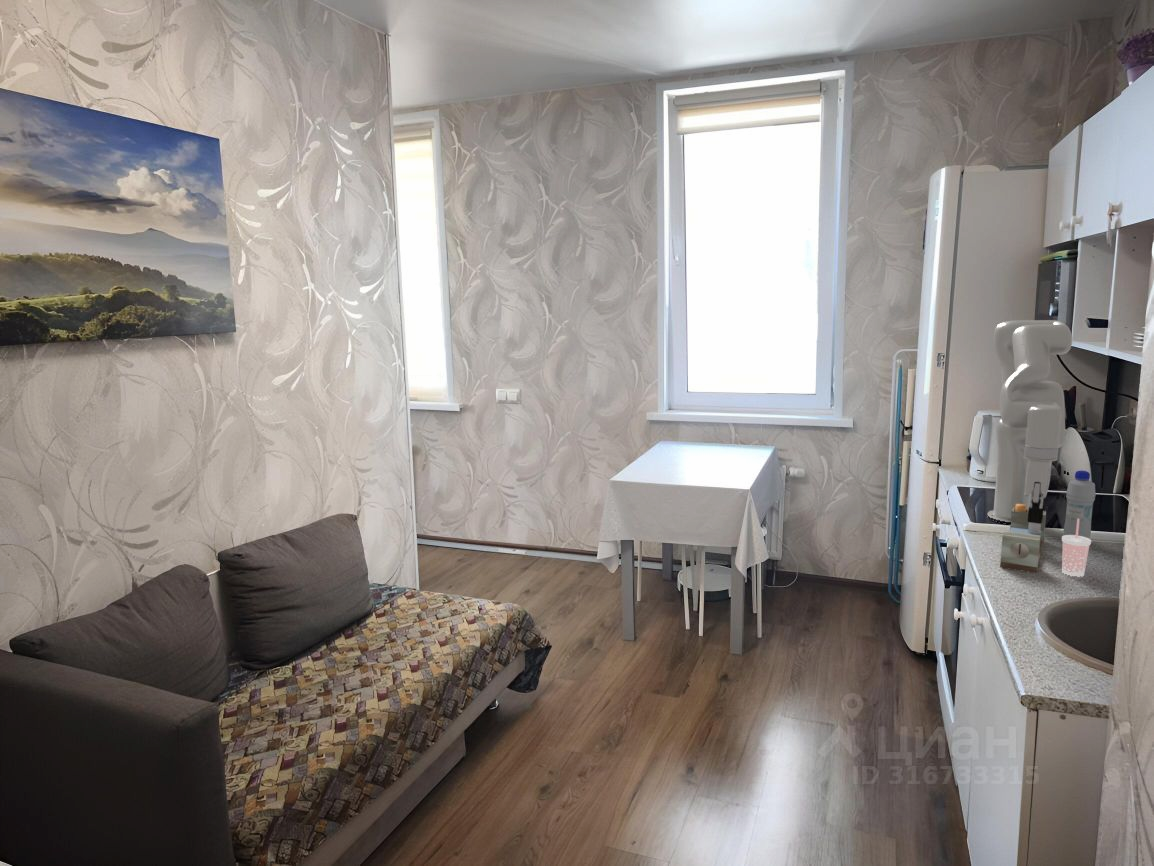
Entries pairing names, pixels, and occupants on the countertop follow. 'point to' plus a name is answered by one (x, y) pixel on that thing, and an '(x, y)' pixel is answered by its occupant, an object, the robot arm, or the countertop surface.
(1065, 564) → the beverage cup
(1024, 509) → the button
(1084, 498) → the bottle
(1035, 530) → the carriage
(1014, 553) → the rail stand
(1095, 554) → the countertop surface
